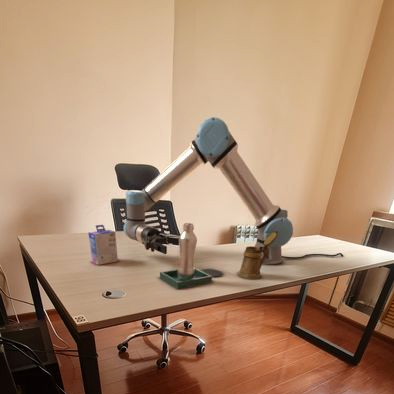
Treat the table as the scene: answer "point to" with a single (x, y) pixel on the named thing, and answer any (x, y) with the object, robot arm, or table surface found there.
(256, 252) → the wooden mug
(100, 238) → the ink cartridge box
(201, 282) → the tray
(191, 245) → the silver metal bottle
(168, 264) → the table surface
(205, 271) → the coaster
